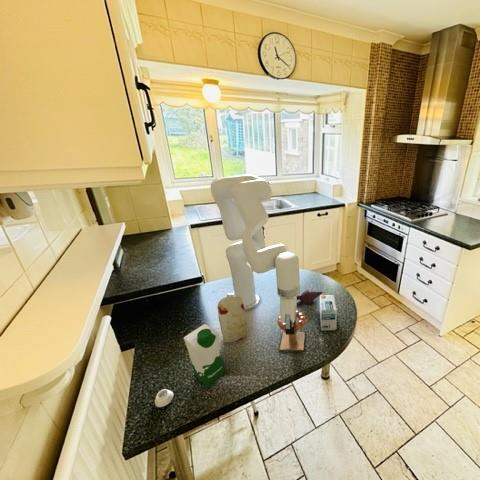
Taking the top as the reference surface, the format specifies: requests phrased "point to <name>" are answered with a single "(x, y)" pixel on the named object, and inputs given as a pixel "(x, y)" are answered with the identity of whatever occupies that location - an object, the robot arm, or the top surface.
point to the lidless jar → (163, 398)
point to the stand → (293, 341)
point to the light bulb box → (328, 312)
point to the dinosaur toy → (307, 297)
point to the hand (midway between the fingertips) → (290, 329)
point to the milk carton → (205, 354)
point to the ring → (297, 325)
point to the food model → (232, 318)
